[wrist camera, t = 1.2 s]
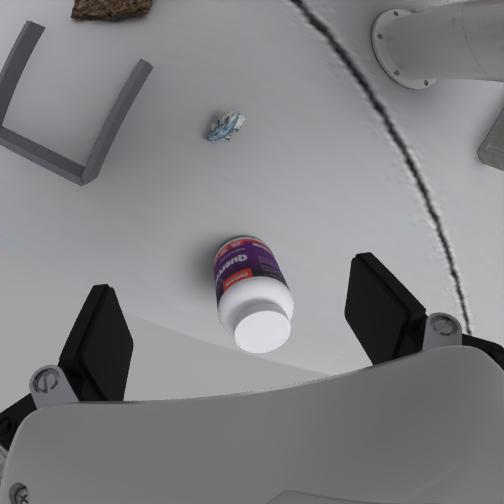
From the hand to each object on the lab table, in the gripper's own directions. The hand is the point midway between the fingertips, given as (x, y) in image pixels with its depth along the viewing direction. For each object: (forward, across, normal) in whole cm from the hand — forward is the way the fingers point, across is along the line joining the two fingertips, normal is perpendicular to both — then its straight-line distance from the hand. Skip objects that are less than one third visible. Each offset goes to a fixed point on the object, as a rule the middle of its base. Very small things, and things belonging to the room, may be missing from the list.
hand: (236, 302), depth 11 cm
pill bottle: (+26, -2, +13) cm, 29 cm away
